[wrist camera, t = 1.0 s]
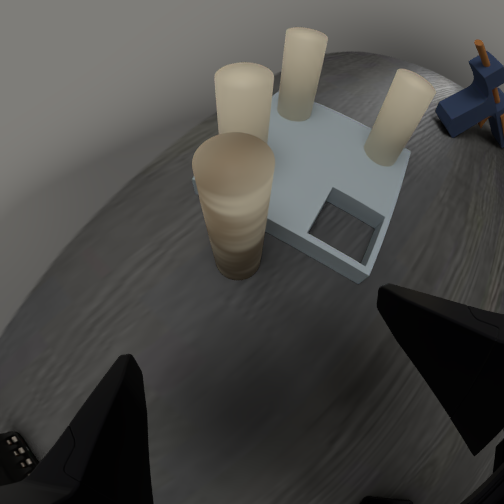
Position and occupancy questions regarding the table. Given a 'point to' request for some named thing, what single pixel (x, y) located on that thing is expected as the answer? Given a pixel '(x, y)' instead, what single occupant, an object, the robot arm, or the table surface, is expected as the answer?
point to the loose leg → (235, 199)
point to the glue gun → (477, 99)
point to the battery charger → (14, 459)
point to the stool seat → (322, 146)
